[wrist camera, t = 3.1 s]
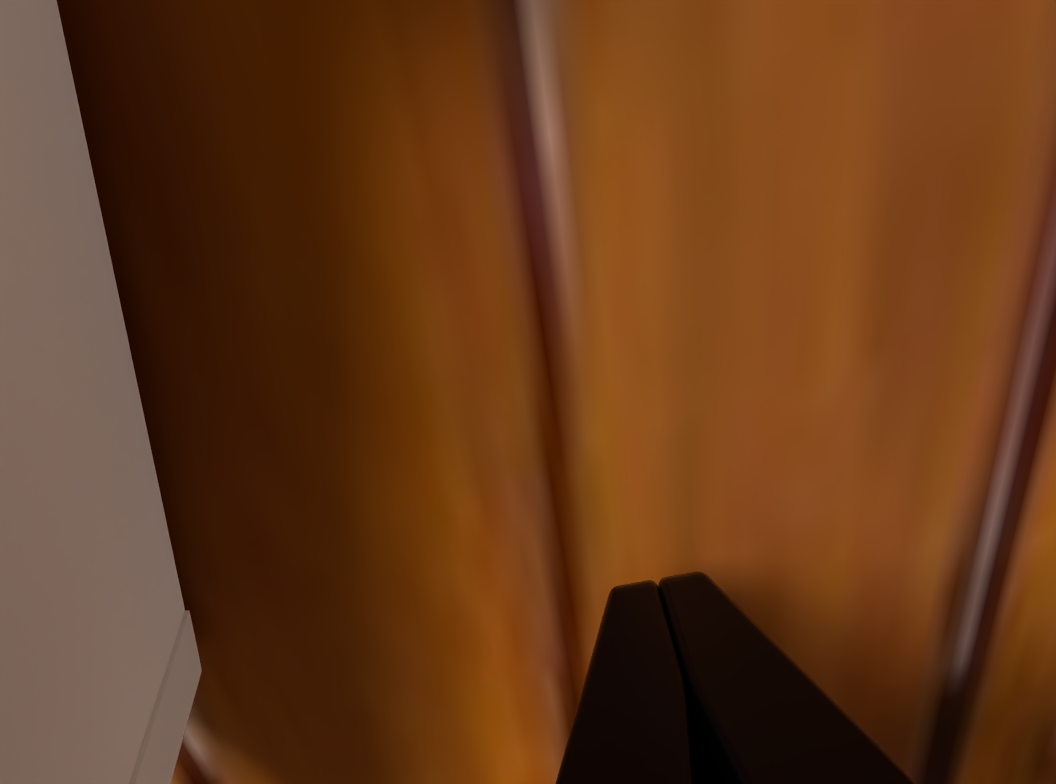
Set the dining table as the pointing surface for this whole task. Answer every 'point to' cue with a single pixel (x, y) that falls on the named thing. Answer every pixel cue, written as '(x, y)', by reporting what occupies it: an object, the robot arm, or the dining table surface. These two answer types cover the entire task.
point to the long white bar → (74, 462)
